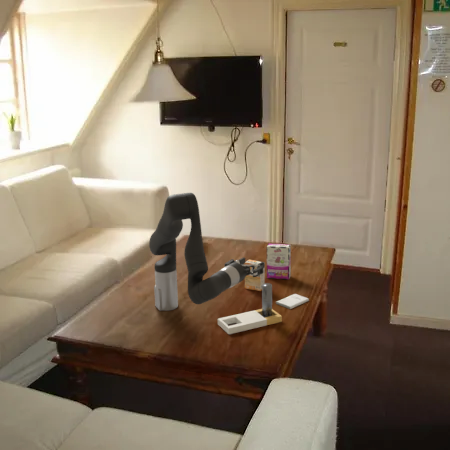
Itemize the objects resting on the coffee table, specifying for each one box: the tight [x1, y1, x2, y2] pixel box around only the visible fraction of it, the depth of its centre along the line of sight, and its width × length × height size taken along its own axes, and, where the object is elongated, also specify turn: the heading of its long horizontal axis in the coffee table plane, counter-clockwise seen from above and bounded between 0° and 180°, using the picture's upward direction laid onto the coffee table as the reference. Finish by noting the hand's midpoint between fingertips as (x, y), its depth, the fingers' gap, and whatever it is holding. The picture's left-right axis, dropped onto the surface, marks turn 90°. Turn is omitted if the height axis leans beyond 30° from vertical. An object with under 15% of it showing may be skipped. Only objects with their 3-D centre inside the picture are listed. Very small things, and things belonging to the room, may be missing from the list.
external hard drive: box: [275, 293, 310, 310], centre depth 254 cm, size 2×8×12 cm
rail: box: [217, 308, 283, 335], centre depth 235 cm, size 24×10×2 cm, turn 116°
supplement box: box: [244, 259, 266, 292], centre depth 268 cm, size 8×5×13 cm, turn 62°
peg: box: [261, 282, 273, 318], centre depth 236 cm, size 4×4×15 cm
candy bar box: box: [266, 243, 292, 280], centre depth 280 cm, size 11×5×16 cm, turn 76°
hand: (253, 262), depth 222 cm, fingers open, 8 cm apart
